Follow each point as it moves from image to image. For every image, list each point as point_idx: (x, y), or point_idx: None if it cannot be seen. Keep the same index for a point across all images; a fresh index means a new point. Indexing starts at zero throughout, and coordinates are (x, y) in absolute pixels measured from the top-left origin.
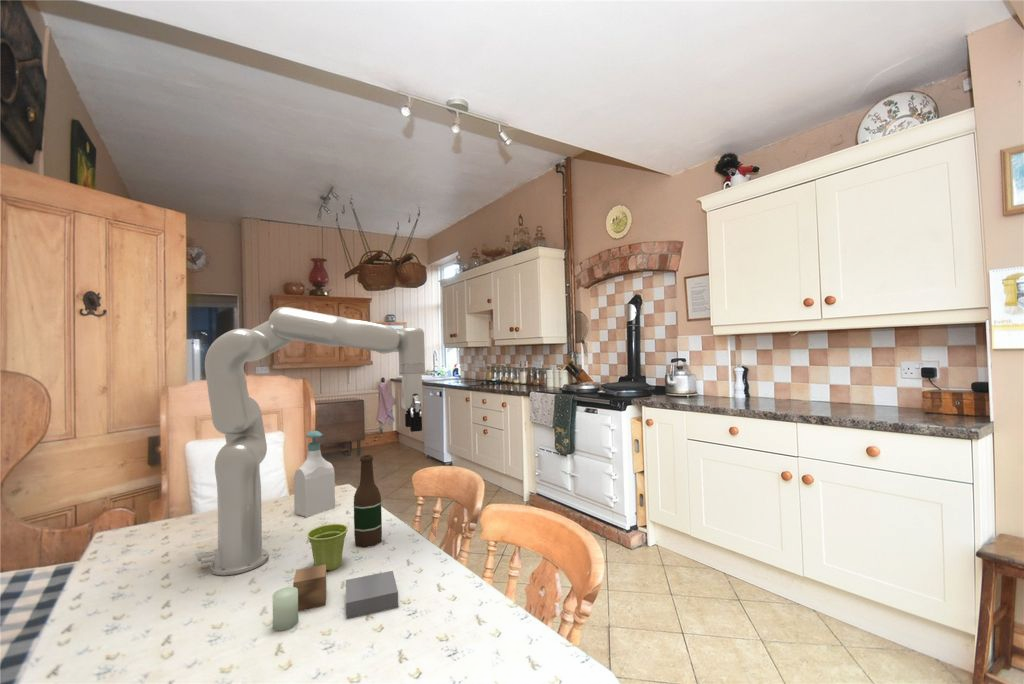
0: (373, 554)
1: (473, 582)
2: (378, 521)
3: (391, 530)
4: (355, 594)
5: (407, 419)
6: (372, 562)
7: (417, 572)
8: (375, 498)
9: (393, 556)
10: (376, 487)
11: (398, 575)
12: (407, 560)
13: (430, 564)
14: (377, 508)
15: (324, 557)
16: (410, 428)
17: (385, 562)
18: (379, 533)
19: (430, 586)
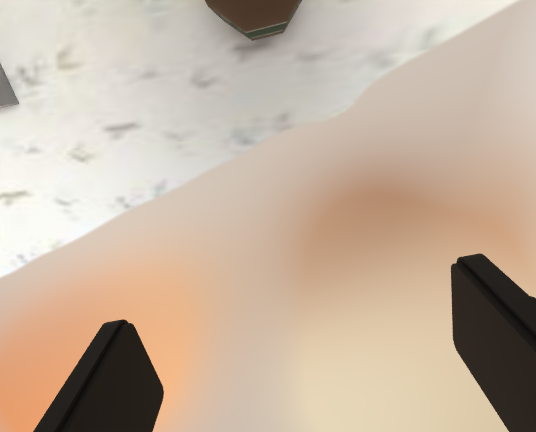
0: (173, 28)
1: (34, 252)
2: (235, 27)
3: (334, 59)
4: None
5: (498, 330)
6: (126, 34)
7: (72, 151)
8: (215, 8)
9: (155, 87)
10: (242, 2)
11: (58, 110)
12: (131, 124)
13: (108, 176)
14: (227, 20)
15: None
16: (94, 339)
17: (123, 70)
18: (242, 33)
19: (15, 179)
